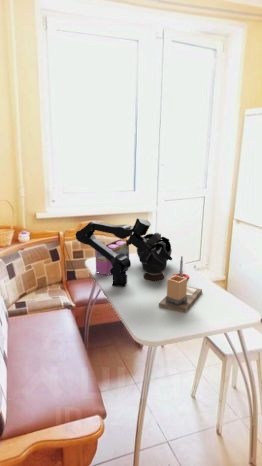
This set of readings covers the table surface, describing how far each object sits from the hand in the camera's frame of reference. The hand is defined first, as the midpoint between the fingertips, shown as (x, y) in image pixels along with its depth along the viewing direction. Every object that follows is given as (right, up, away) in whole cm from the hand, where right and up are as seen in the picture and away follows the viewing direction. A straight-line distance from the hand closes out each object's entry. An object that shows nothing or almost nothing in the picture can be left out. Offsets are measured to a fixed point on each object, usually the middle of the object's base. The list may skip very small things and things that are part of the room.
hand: (167, 262), depth 150 cm
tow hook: (+10, -10, +25) cm, 28 cm away
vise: (+4, -16, -5) cm, 17 cm away
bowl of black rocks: (-3, -6, +43) cm, 43 cm away
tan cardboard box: (+3, -14, -7) cm, 16 cm away
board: (+6, -16, 0) cm, 18 cm away
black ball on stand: (-5, -10, +25) cm, 27 cm away
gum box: (-27, -7, +39) cm, 47 cm away
